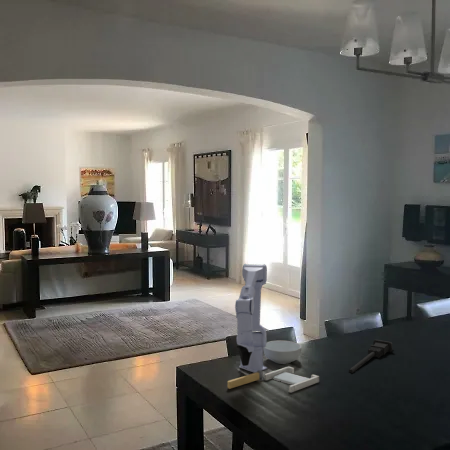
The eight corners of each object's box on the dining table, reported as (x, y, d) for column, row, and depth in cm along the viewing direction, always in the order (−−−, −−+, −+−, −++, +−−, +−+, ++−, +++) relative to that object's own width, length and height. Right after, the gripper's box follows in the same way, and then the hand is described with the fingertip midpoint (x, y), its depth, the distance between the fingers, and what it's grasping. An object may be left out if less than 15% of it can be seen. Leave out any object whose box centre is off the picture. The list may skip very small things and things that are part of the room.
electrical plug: (395, 349, 240) (395, 339, 240) (361, 379, 207) (360, 367, 207) (377, 346, 245) (377, 336, 245) (341, 375, 213) (340, 363, 212)
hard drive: (273, 376, 203) (299, 384, 195) (285, 371, 209) (311, 378, 201) (273, 381, 203) (299, 388, 195) (285, 375, 209) (311, 382, 201)
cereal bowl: (289, 370, 214) (288, 353, 213) (255, 362, 224) (255, 346, 223) (308, 359, 227) (308, 343, 227) (276, 352, 237) (276, 337, 237)
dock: (254, 379, 203) (254, 373, 203) (283, 369, 214) (283, 364, 214) (289, 393, 189) (289, 387, 189) (319, 381, 200) (319, 376, 200)
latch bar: (260, 377, 205) (259, 369, 204) (263, 378, 203) (263, 371, 203) (226, 387, 194) (226, 379, 194) (230, 389, 192) (230, 381, 192)
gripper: (261, 333, 189) (261, 370, 189) (248, 324, 203) (248, 358, 203) (243, 335, 187) (243, 372, 187) (231, 326, 200) (231, 360, 201)
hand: (245, 365), depth 195 cm, fingers closed
